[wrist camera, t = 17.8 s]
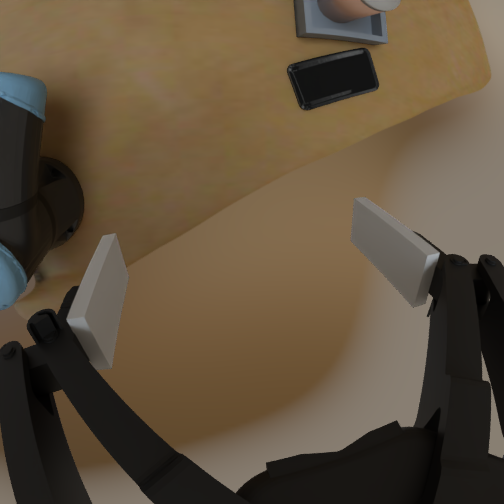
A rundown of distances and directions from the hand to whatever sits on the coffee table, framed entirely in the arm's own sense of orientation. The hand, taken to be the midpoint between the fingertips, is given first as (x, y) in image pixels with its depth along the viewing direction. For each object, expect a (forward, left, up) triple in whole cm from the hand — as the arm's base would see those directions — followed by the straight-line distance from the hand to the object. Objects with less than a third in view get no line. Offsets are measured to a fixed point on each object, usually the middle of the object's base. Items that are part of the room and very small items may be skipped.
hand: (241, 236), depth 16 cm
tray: (+22, +22, -32) cm, 45 cm away
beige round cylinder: (+22, +22, -31) cm, 44 cm away
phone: (+21, +9, -32) cm, 40 cm away
